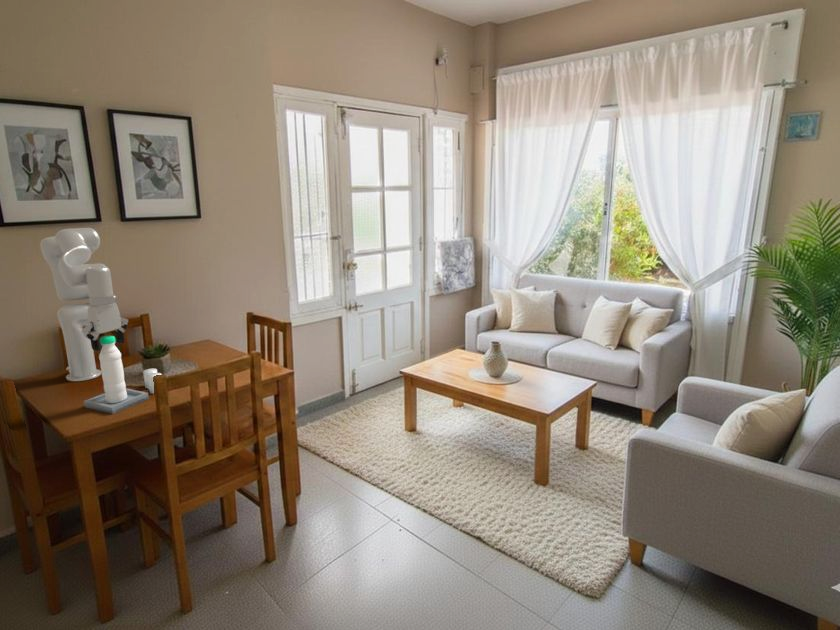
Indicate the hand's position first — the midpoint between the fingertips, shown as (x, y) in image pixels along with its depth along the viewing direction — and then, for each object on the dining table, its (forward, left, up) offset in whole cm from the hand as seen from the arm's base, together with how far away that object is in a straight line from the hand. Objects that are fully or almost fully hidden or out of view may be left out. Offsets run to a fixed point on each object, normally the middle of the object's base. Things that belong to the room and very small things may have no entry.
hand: (109, 346), depth 188 cm
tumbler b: (-2, +17, -22) cm, 28 cm away
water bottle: (0, 0, -22) cm, 22 cm away
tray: (0, 0, -22) cm, 22 cm away
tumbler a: (+4, +14, -22) cm, 27 cm away
